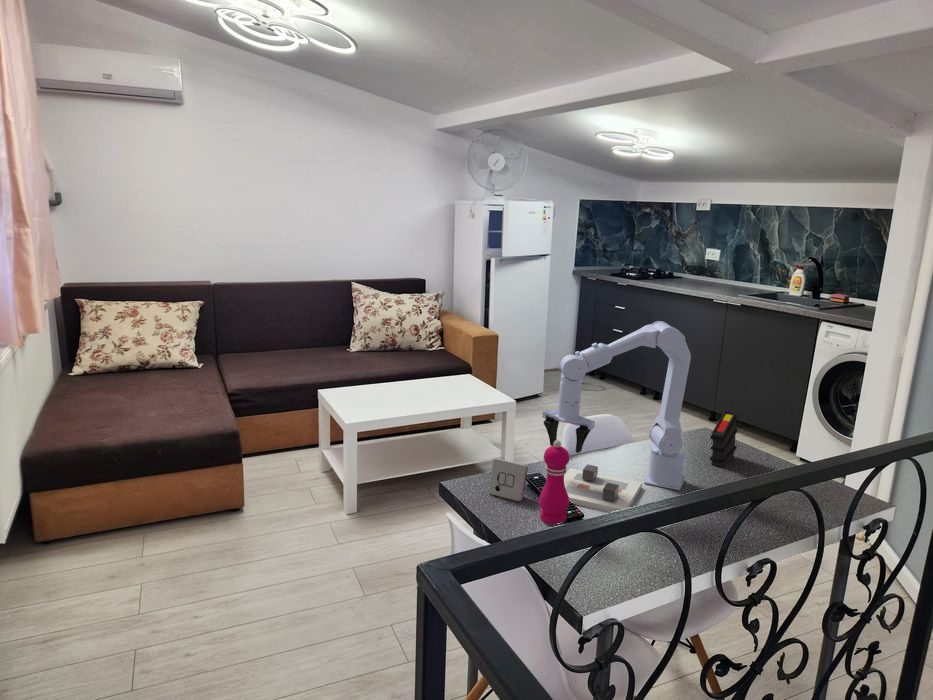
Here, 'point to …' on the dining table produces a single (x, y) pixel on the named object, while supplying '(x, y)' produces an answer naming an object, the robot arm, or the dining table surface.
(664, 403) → the robot arm
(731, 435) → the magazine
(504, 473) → the electrical switch
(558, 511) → the pepper mill
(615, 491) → the tab
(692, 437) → the dining table surface
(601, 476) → the switch panel
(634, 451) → the dining table surface
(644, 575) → the dining table surface
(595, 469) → the dark grey block
